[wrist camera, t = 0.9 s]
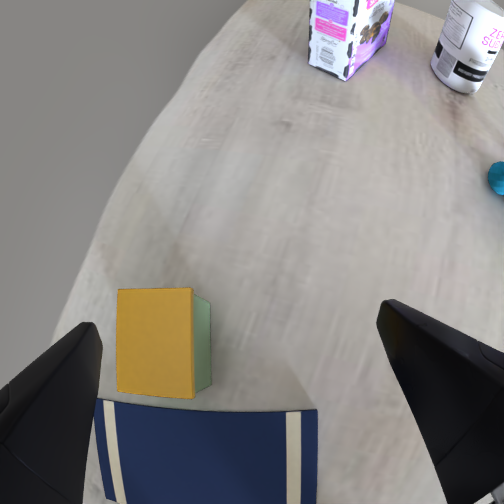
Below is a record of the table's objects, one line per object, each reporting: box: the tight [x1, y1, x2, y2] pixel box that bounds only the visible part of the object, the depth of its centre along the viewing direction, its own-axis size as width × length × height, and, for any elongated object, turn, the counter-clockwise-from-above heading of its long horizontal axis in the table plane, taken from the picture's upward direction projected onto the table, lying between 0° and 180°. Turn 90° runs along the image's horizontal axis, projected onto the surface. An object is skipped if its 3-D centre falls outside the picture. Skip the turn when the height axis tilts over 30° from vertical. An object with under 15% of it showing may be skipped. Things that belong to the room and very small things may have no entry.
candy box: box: [308, 0, 395, 81], centre depth 26 cm, size 14×6×16 cm, turn 141°
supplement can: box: [431, 0, 504, 93], centre depth 25 cm, size 8×8×15 cm
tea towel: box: [94, 398, 318, 504], centre depth 22 cm, size 12×21×1 cm, turn 92°
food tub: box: [116, 287, 211, 399], centre depth 23 cm, size 8×6×6 cm
